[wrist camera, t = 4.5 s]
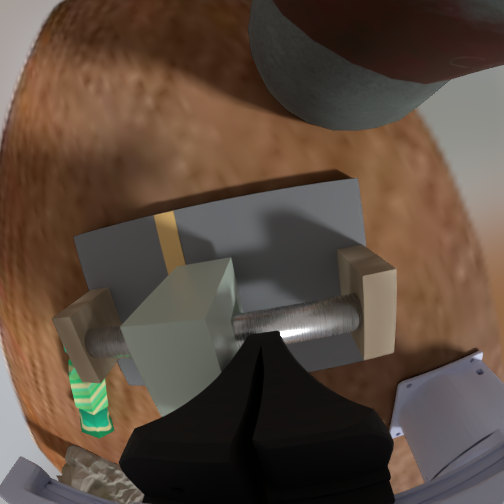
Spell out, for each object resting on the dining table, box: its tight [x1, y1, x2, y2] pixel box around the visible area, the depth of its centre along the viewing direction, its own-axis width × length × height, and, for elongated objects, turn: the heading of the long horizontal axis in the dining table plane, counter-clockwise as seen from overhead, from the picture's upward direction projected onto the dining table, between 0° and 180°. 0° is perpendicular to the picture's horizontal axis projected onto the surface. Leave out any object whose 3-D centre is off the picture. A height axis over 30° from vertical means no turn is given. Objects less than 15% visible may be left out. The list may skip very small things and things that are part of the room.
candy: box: [63, 345, 114, 438], centre depth 19 cm, size 12×3×4 cm
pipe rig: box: [52, 178, 397, 386], centre depth 15 cm, size 18×12×6 cm, turn 101°
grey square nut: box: [120, 257, 243, 417], centre depth 12 cm, size 3×6×7 cm, turn 10°
